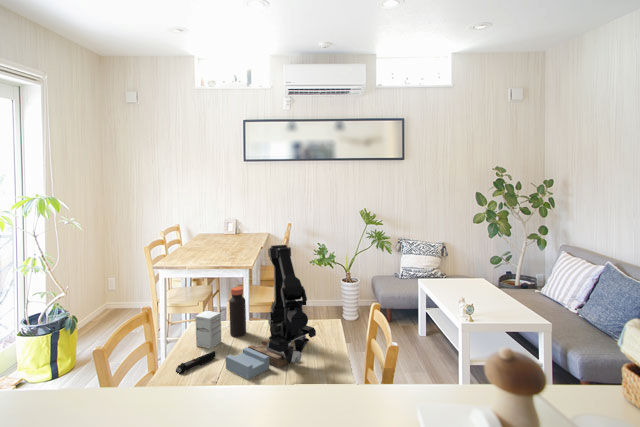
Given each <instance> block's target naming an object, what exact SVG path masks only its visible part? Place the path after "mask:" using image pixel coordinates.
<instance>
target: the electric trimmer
mask: <svg viewBox="0 0 640 427" xmlns="http://www.w3.org/2000/svg"><path fill="white" fill-rule="evenodd" d="M216 354H217V352H216V351H215V350H213V351H210V352H208V353H206V354H203V355H200V356H198V357H196V358H192V359H191V360H189V361H185V362H182V363H180V364H178V365H177V367H176V368H175V373H176V372H177V373H176V374H178V373H179V374H178V375H183V374H184V373H185V372H187V371H189V370H191V369H195V368H196V367H198V366H203V365H205V364H207V363H209V361H212V360H213V359H215V358H216Z"/></svg>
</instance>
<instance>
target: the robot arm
mask: <svg viewBox="0 0 640 427" xmlns="http://www.w3.org/2000/svg"><path fill="white" fill-rule="evenodd" d="M267 255H268V258H269V261H270V263H271V264H272V265H273V289H274V290H273V291H274V293H273V294H274V295H273V297H274V298H273V299H274V301H273V302H272V304H271V306H270V311H269V313H268V316H267V317H268V318H267V319H268V320H267V321H268V325H269V331H270V336H268V340H270V341H269V348H270V349H273V350H275V351H278V352H284V354H285V357H286V359H287V362H288V363H287V364H291V363H292V361H291V360H292V355H293V350H297V351H299V352H301V354H302V353H303V352H304V349H305V347H306V345H307V344H308V342H309V341H310V339H309V338H315V336H316V335H317V334H316V333H317V331H316V329H315V327H312V326H310V325H308V322H309V317H308V315H307V313H305V311H304V310H303V306H307V302H308V301H307V300H308V298H307V295H306V294H307V293H306V289H305V286H304V285H302V281H301V279H299V278H298V277H297V276H296V273H295V269H294V265H293V261H292V259H291V258H292V247H291V246H288V245H287V244H278V245H277V244H274V245H271V246H270V247H269V248H268V251H267ZM307 335H308V337H309V338H307ZM292 342H294V346H292Z"/></svg>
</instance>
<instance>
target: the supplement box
mask: <svg viewBox="0 0 640 427" xmlns="http://www.w3.org/2000/svg"><path fill="white" fill-rule="evenodd" d="M221 314H222V312H218V311H211V310H205V311H202V312H200V313H199V314H197V315H195V341H196V342H195V344H196V347H201V348H206V349H213V348H214V347H216V346H217V345H219V344H221V343H222V315H221Z"/></svg>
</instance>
